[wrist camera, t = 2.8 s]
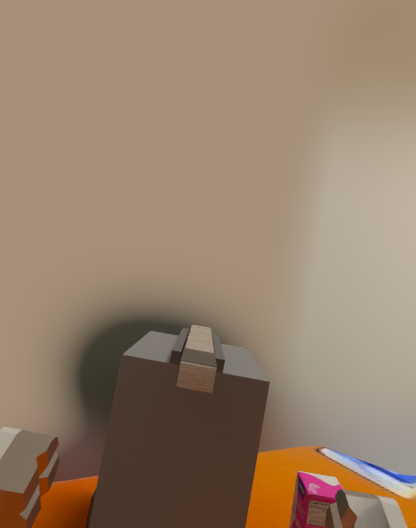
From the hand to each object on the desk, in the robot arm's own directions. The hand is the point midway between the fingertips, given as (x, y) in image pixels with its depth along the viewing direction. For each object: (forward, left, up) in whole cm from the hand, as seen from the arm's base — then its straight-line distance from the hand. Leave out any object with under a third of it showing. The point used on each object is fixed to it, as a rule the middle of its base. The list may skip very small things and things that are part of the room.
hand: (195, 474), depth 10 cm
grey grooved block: (0, -38, -29) cm, 48 cm away
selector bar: (0, -33, -3) cm, 33 cm away
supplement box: (-20, -39, -30) cm, 53 cm away
